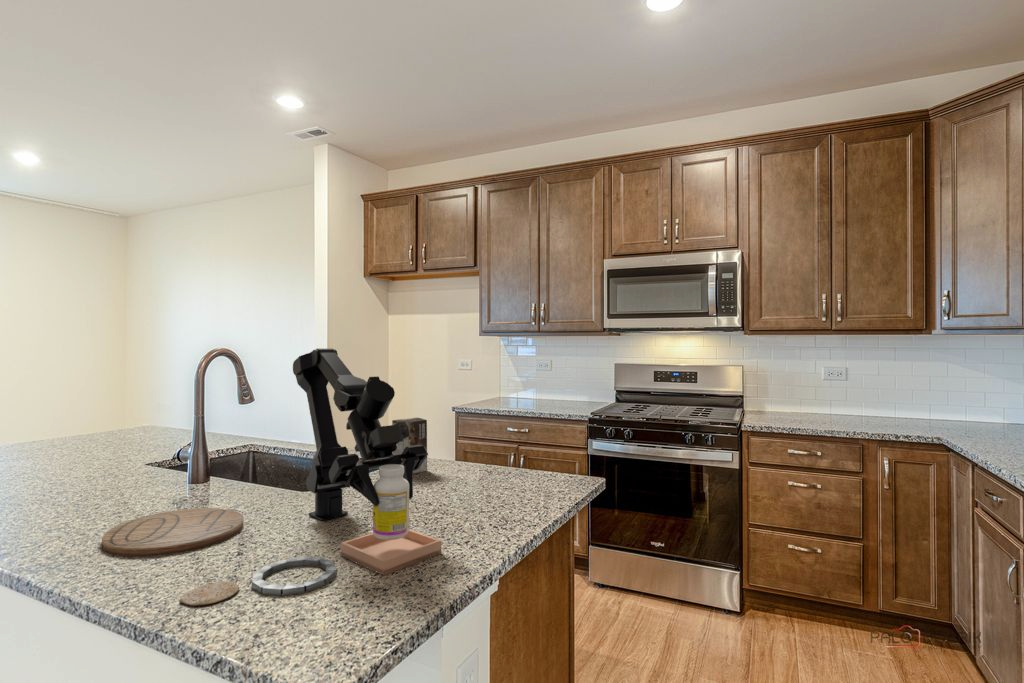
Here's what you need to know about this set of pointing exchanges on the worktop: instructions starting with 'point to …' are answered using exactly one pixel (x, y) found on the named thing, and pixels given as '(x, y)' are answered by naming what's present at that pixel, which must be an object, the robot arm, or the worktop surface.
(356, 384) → the robot arm
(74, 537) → the worktop surface
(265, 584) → the seat ring
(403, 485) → the supplement bottle
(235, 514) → the trivet
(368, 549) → the tray
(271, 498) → the worktop surface
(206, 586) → the flatbread
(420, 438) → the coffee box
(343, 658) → the worktop surface
